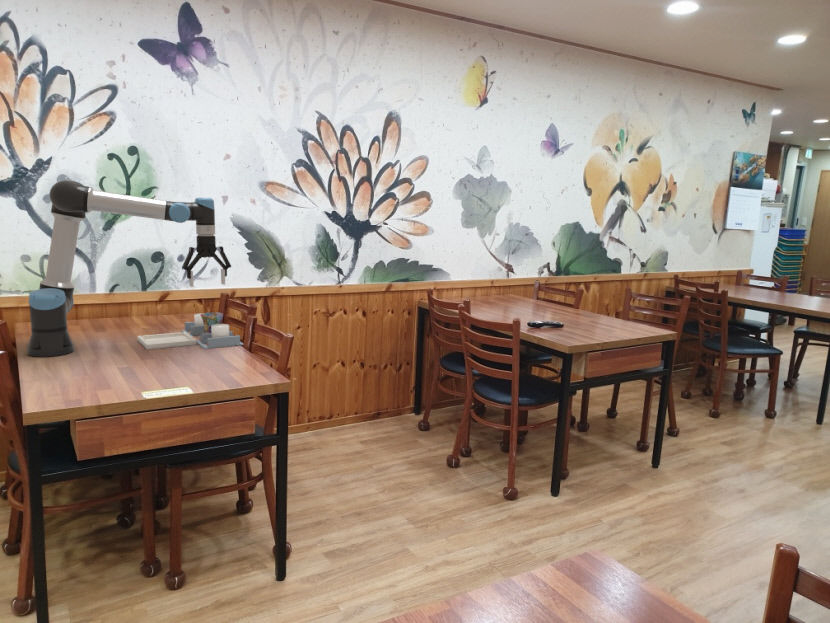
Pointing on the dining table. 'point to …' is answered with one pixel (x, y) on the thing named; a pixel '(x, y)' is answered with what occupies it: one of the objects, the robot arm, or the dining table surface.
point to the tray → (166, 340)
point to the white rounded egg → (219, 330)
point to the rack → (208, 338)
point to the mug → (211, 320)
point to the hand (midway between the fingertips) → (207, 285)
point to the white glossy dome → (198, 320)
